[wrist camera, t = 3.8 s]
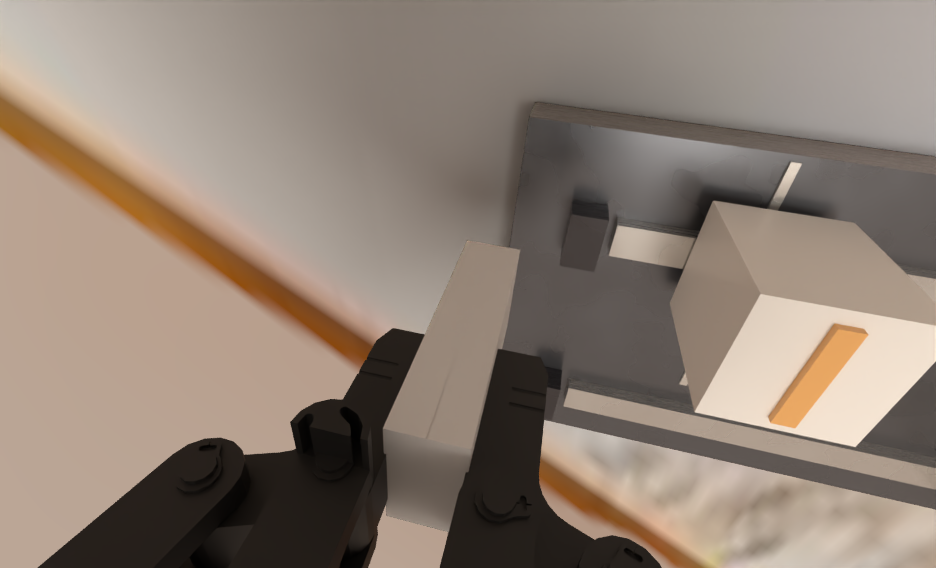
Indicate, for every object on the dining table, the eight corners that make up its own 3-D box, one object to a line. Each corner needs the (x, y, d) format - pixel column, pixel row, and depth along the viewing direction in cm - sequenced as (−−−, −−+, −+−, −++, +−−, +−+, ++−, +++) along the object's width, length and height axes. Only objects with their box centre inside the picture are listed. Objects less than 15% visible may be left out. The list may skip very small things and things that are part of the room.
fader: (713, 200, 14) (763, 299, 10) (854, 222, 14) (970, 336, 9) (669, 303, 16) (695, 418, 12) (788, 325, 16) (858, 453, 12)
